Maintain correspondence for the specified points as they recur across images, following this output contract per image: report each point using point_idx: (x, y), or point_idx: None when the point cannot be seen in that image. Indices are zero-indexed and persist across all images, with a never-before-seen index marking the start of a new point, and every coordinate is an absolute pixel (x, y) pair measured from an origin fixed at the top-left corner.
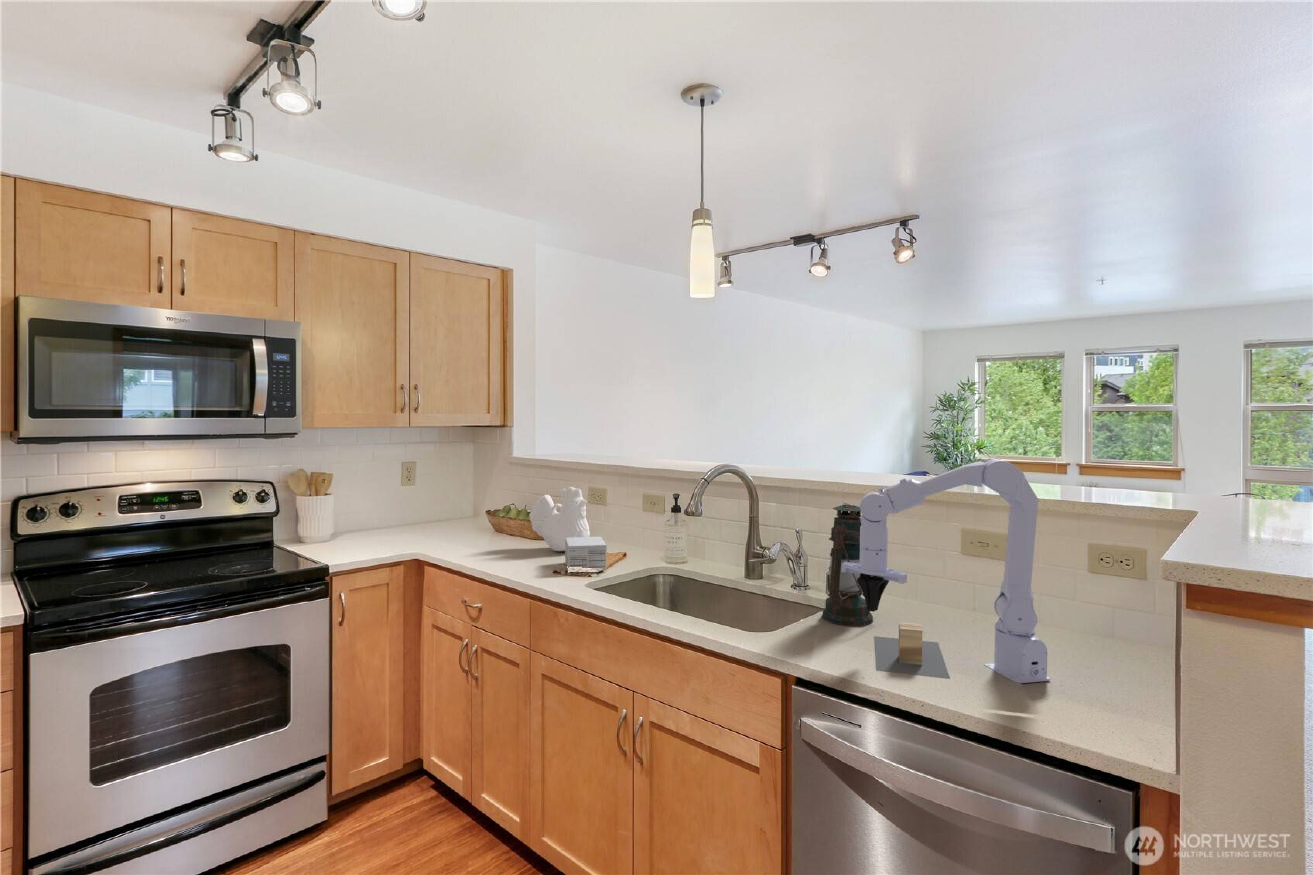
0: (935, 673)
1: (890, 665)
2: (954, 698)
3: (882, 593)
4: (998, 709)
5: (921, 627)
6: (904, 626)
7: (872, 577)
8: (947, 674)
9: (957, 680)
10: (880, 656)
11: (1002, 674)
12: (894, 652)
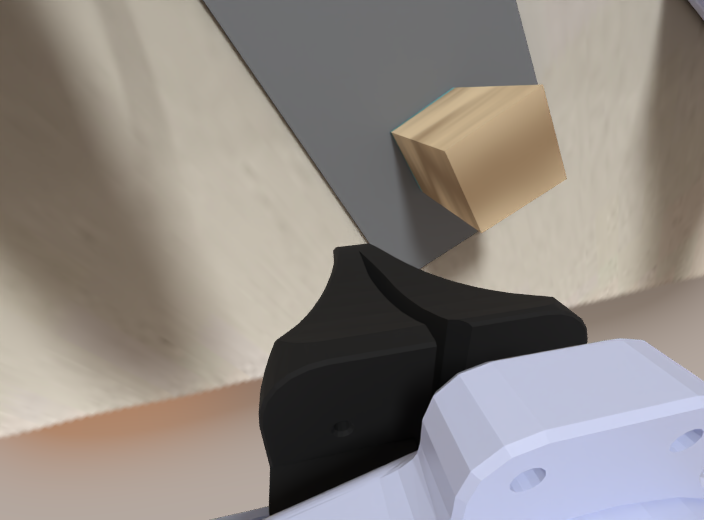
0: None
1: (408, 225)
2: (576, 259)
3: (435, 277)
4: (653, 236)
5: (555, 138)
6: (488, 192)
7: (409, 446)
8: None
9: (572, 153)
10: (349, 183)
11: (697, 5)
12: (361, 104)
